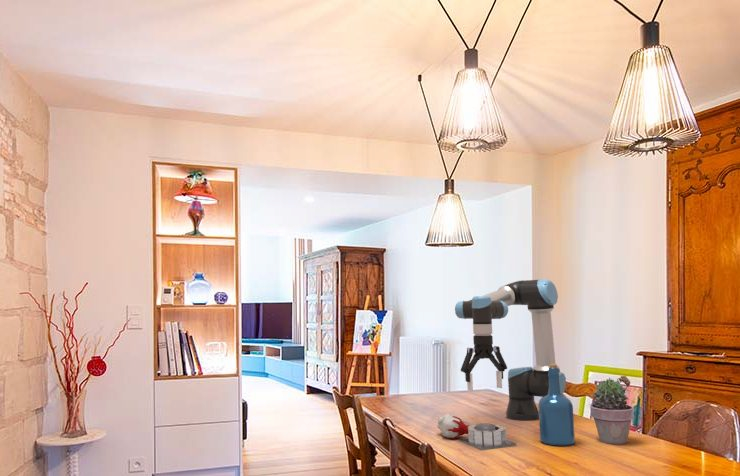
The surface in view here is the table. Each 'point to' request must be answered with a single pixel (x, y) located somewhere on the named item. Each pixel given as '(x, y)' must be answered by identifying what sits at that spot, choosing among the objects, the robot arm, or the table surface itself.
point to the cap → (485, 427)
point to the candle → (452, 426)
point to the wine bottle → (556, 414)
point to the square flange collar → (487, 438)
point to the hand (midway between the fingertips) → (485, 389)
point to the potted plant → (612, 411)
